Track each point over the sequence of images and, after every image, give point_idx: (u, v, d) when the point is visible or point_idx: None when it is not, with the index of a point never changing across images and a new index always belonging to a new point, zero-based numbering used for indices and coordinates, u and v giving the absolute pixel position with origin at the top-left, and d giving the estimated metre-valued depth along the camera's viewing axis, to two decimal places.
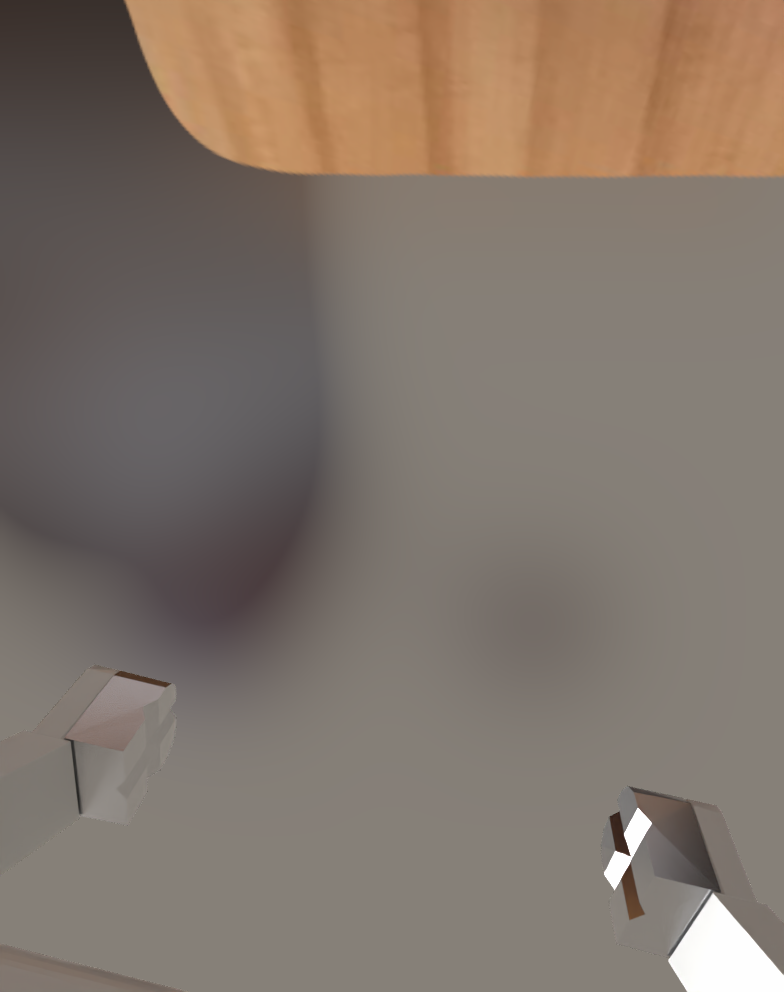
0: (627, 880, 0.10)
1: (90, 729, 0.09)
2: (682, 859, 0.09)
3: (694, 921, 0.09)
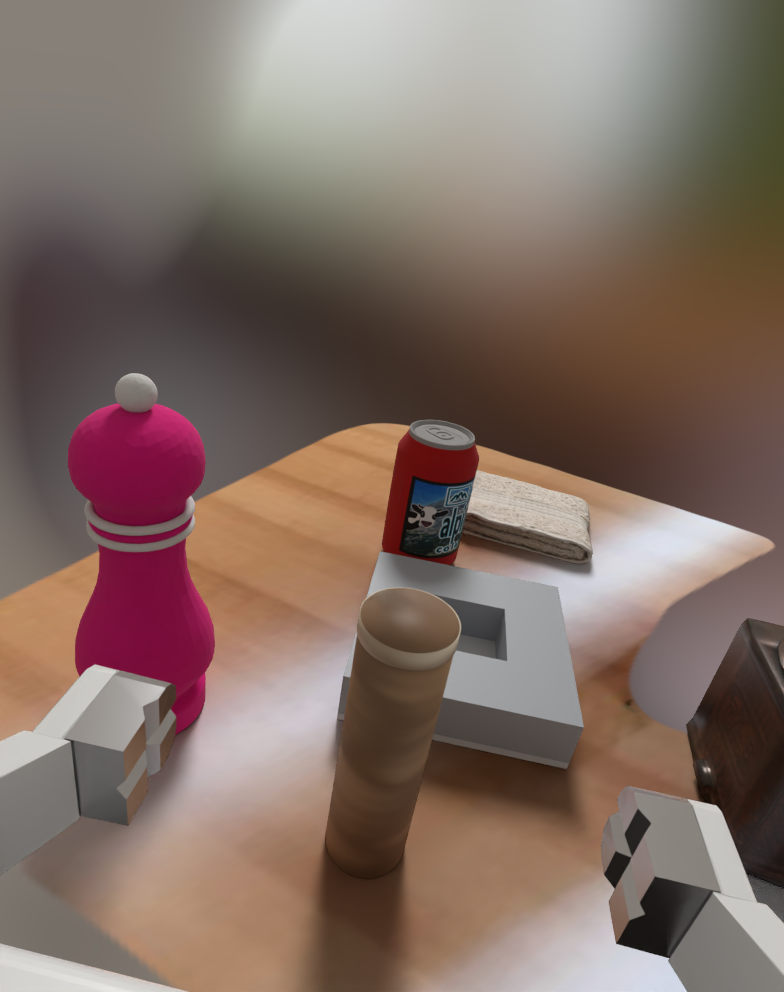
0: (627, 880, 0.10)
1: (90, 729, 0.09)
2: (682, 859, 0.09)
3: (694, 921, 0.09)
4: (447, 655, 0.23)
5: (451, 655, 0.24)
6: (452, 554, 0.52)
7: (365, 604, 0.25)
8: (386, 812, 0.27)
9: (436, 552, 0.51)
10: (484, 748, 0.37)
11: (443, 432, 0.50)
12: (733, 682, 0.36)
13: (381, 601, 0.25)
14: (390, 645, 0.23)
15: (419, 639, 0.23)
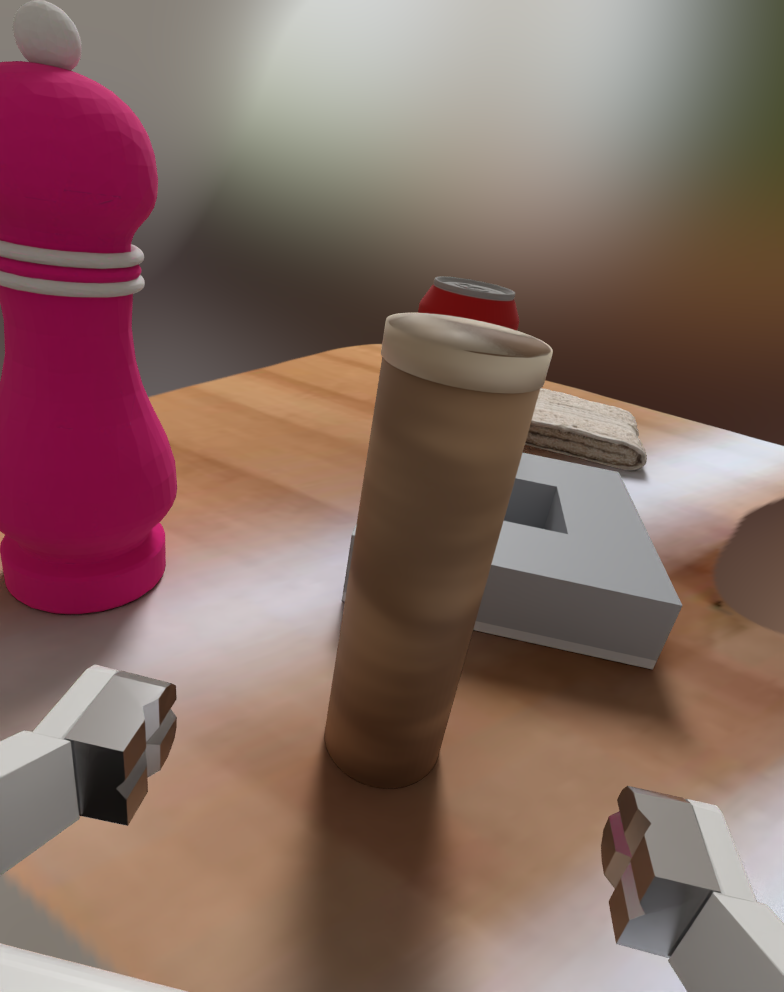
0: (627, 880, 0.10)
1: (90, 728, 0.09)
2: (682, 859, 0.09)
3: (694, 921, 0.09)
4: (534, 376, 0.14)
5: (539, 383, 0.14)
6: None
7: (394, 316, 0.15)
8: (420, 674, 0.17)
9: None
10: (540, 640, 0.27)
11: (476, 288, 0.40)
12: None
13: (420, 318, 0.16)
14: (441, 344, 0.13)
15: (488, 346, 0.14)
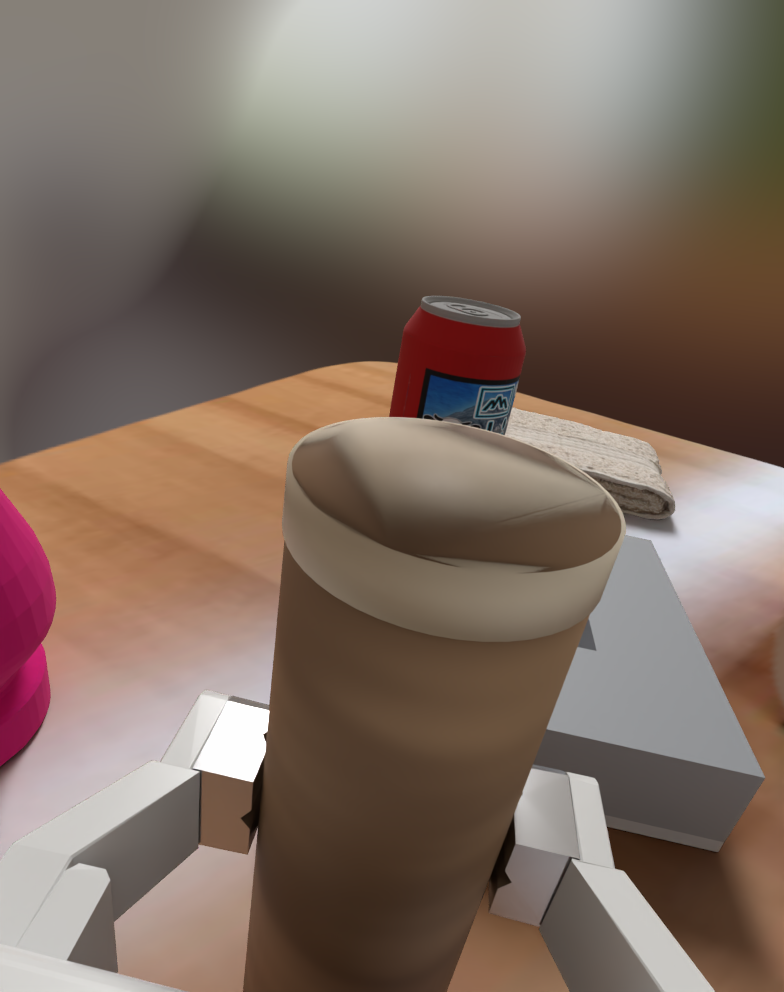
0: (501, 850, 0.10)
1: (216, 758, 0.09)
2: (547, 827, 0.09)
3: (558, 889, 0.09)
4: (594, 591, 0.07)
5: (600, 595, 0.07)
6: None
7: (312, 439, 0.08)
8: None
9: None
10: None
11: (472, 310, 0.33)
12: None
13: (364, 438, 0.08)
14: (391, 543, 0.06)
15: (496, 530, 0.07)
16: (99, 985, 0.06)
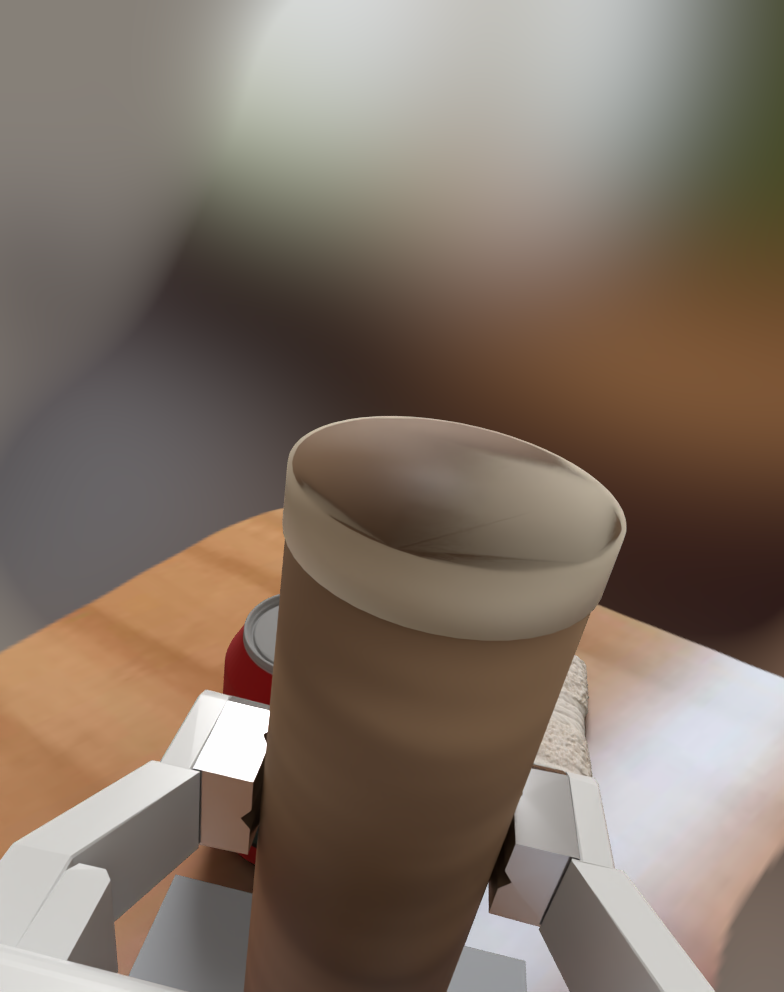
0: (501, 850, 0.10)
1: (216, 758, 0.09)
2: (547, 828, 0.09)
3: (558, 889, 0.09)
4: (595, 590, 0.07)
5: (601, 593, 0.07)
6: None
7: (312, 438, 0.08)
8: None
9: None
10: None
11: None
12: None
13: (364, 437, 0.08)
14: (391, 542, 0.06)
15: (497, 528, 0.07)
16: (99, 985, 0.06)
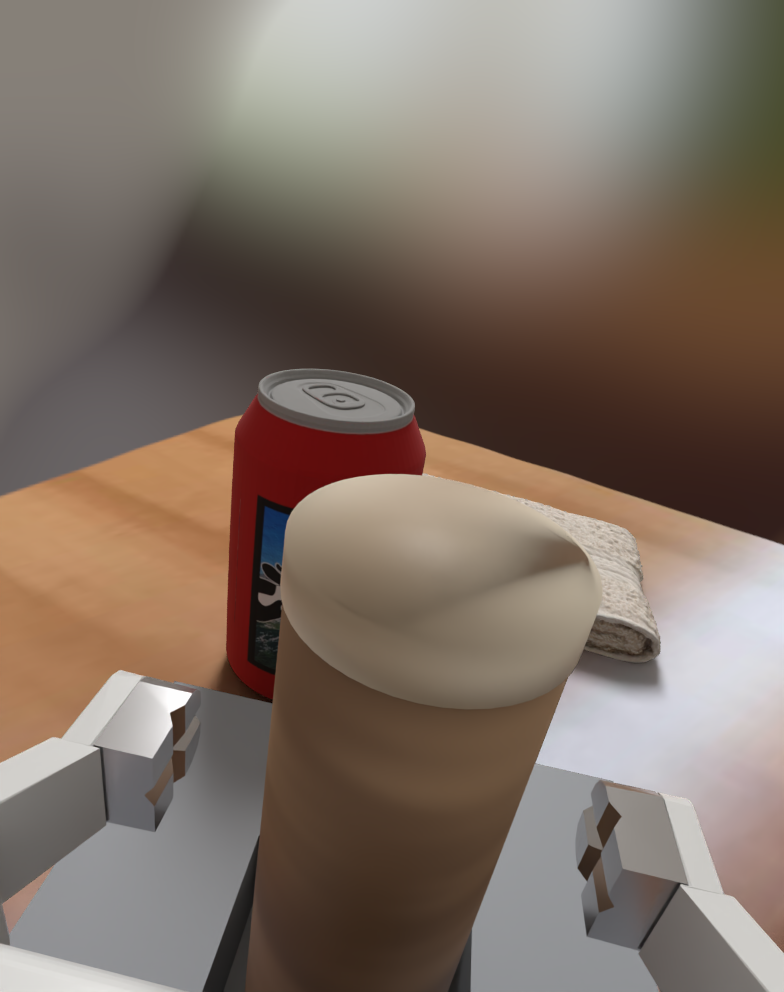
0: (598, 873, 0.10)
1: (118, 736, 0.09)
2: (651, 852, 0.09)
3: (662, 914, 0.09)
4: (571, 657, 0.07)
5: (578, 658, 0.07)
6: None
7: (308, 504, 0.08)
8: None
9: None
10: None
11: (344, 395, 0.21)
12: None
13: (358, 500, 0.09)
14: (381, 619, 0.06)
15: (480, 601, 0.07)
16: (99, 985, 0.06)
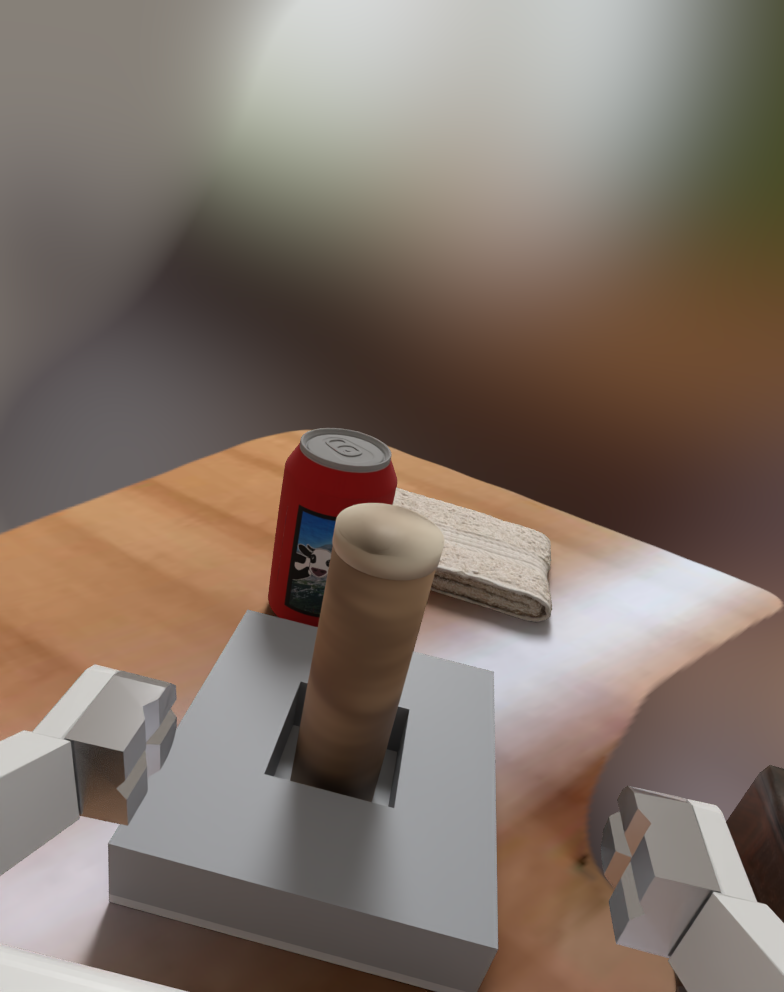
0: (627, 880, 0.10)
1: (89, 729, 0.09)
2: (682, 859, 0.09)
3: (694, 921, 0.09)
4: (428, 567, 0.22)
5: (432, 569, 0.22)
6: None
7: (342, 514, 0.23)
8: (356, 746, 0.25)
9: None
10: (341, 962, 0.23)
11: (349, 447, 0.36)
12: None
13: (360, 513, 0.23)
14: (367, 550, 0.21)
15: (399, 547, 0.22)
16: (99, 985, 0.06)
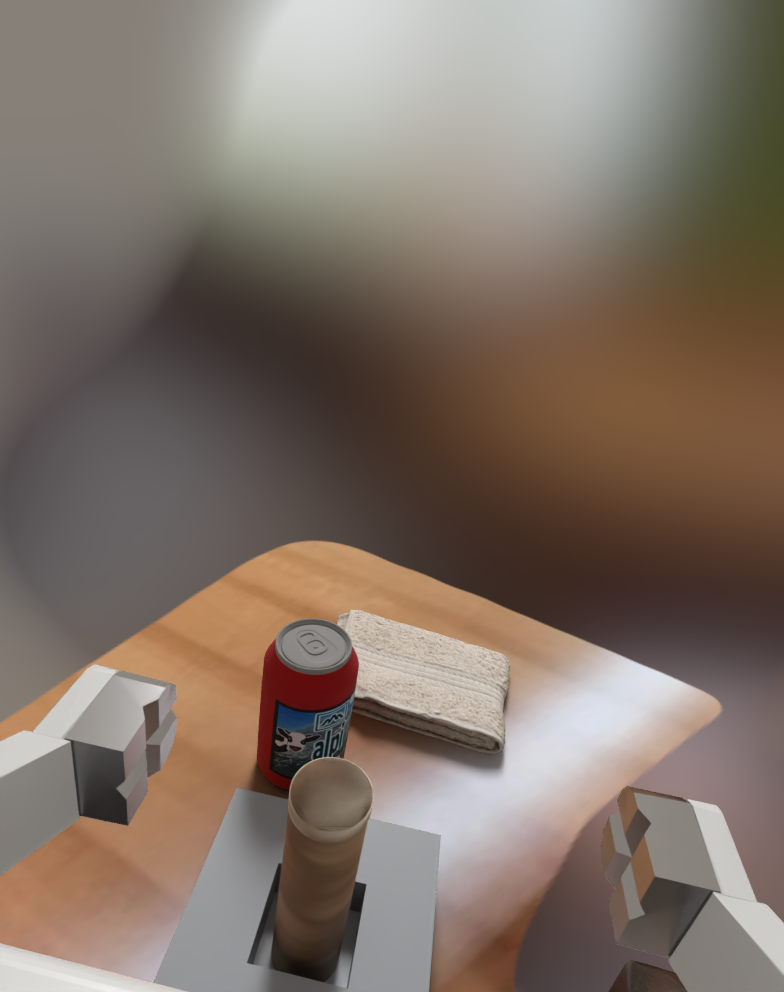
0: (627, 880, 0.10)
1: (90, 728, 0.09)
2: (682, 859, 0.09)
3: (694, 921, 0.09)
4: (359, 828, 0.29)
5: (363, 826, 0.29)
6: None
7: (295, 778, 0.30)
8: (317, 941, 0.32)
9: None
10: None
11: (317, 641, 0.43)
12: None
13: (310, 774, 0.30)
14: (311, 823, 0.28)
15: (336, 815, 0.29)
16: (99, 985, 0.06)
